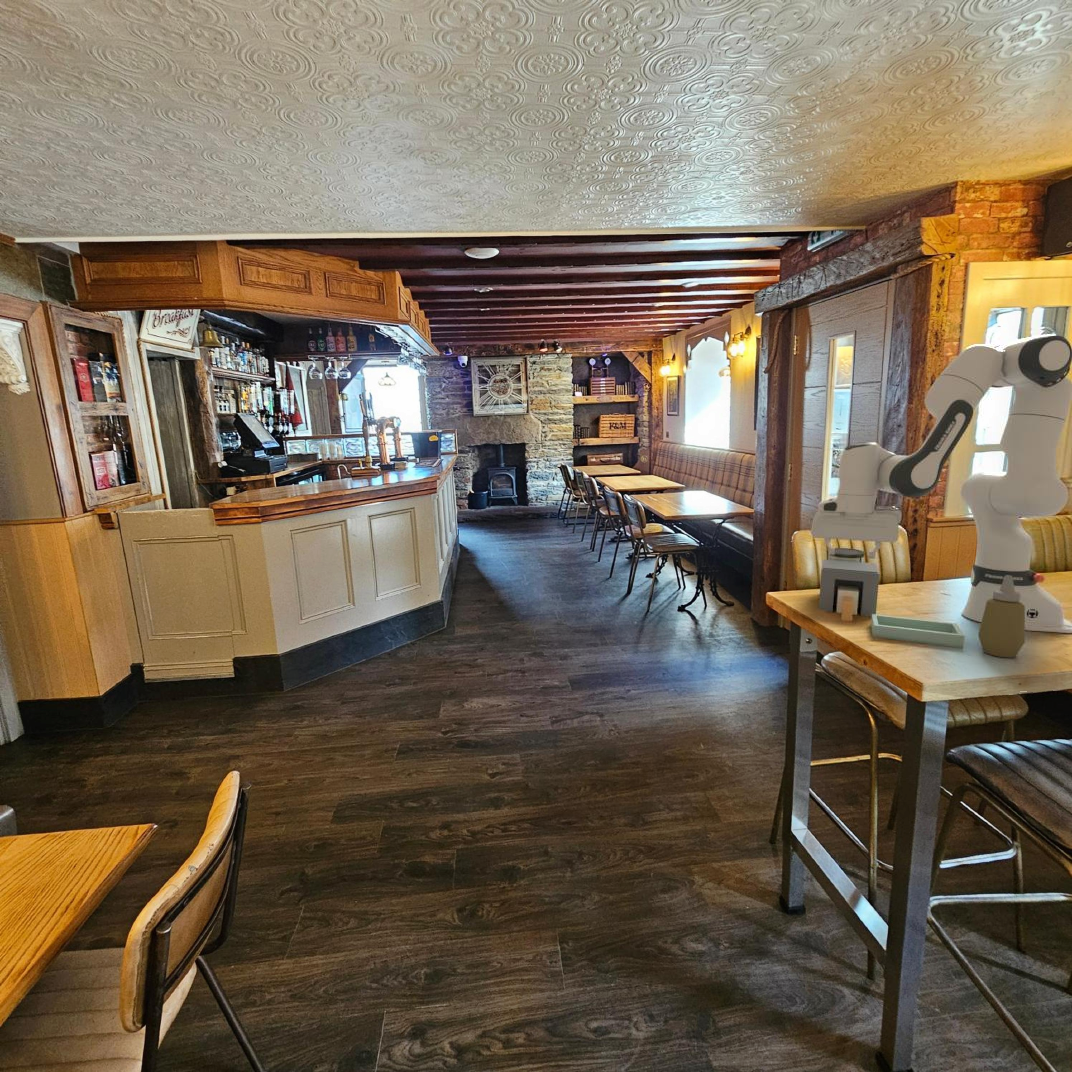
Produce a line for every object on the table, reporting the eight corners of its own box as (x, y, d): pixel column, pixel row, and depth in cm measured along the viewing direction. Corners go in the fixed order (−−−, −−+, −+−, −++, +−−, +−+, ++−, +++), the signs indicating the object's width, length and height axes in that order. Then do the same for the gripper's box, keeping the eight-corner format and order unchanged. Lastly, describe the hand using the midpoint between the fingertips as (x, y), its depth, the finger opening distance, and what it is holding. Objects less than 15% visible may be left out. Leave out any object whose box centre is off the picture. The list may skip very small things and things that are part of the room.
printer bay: (873, 604, 166) (876, 563, 164) (875, 616, 154) (879, 572, 152) (819, 598, 172) (822, 559, 170) (818, 610, 161) (821, 568, 159)
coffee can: (818, 590, 181) (821, 547, 179) (852, 591, 180) (855, 547, 178) (831, 599, 171) (835, 554, 169) (867, 600, 170) (871, 554, 168)
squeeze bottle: (1022, 663, 122) (1033, 582, 119) (975, 654, 127) (984, 576, 124) (1022, 652, 128) (1033, 575, 125) (977, 644, 133) (986, 570, 130)
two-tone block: (856, 608, 162) (858, 586, 161) (857, 621, 150) (859, 598, 149) (836, 606, 164) (838, 585, 163) (836, 619, 153) (838, 596, 152)
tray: (955, 635, 139) (956, 623, 139) (963, 648, 131) (964, 635, 130) (870, 625, 148) (871, 613, 147) (872, 636, 139) (873, 625, 138)
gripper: (901, 505, 146) (896, 557, 148) (813, 502, 156) (810, 551, 158) (903, 508, 141) (898, 562, 143) (812, 504, 150) (808, 555, 152)
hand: (851, 556), depth 150 cm, fingers open, 8 cm apart
